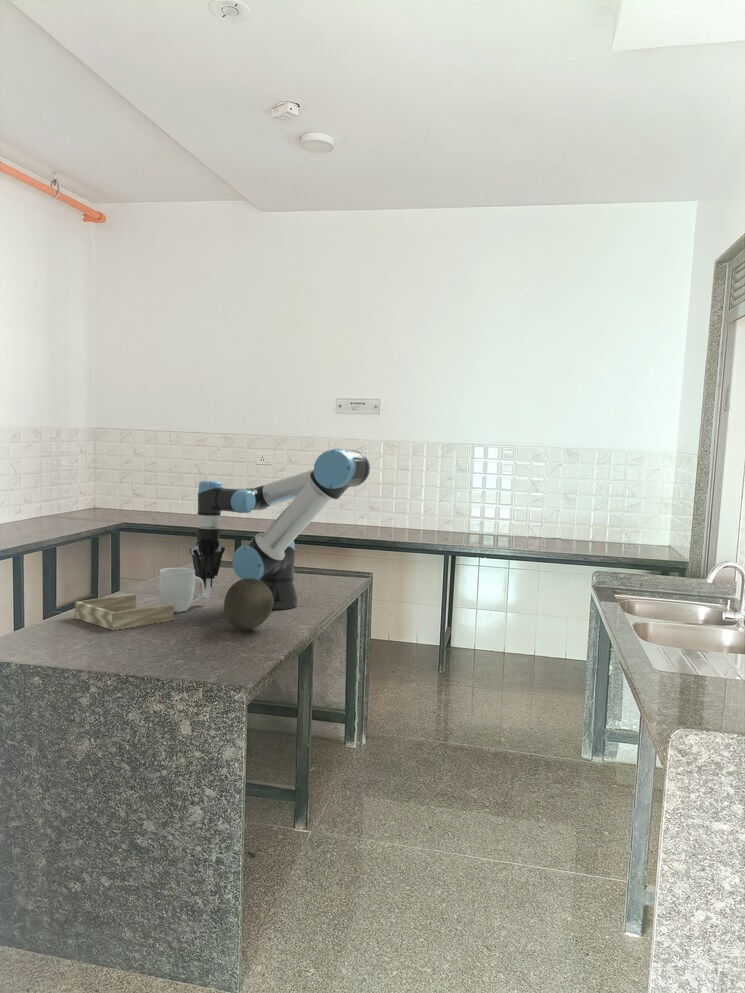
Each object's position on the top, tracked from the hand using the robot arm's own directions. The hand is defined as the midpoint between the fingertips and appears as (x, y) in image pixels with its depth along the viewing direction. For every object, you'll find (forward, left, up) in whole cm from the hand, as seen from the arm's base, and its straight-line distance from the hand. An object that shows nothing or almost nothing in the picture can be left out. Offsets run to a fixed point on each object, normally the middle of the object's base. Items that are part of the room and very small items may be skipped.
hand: (205, 597), depth 244 cm
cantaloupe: (-34, +12, -3) cm, 37 cm away
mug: (0, +11, -3) cm, 11 cm away
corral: (0, +31, -3) cm, 31 cm away
